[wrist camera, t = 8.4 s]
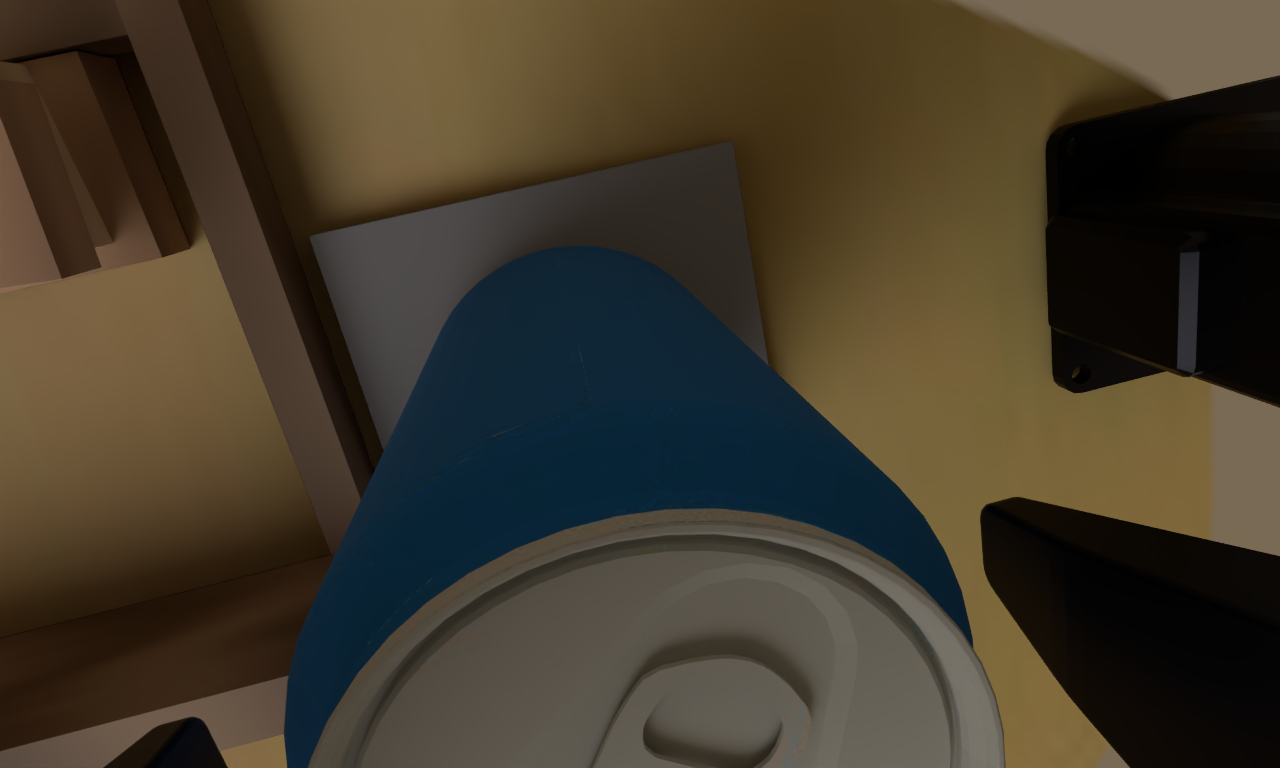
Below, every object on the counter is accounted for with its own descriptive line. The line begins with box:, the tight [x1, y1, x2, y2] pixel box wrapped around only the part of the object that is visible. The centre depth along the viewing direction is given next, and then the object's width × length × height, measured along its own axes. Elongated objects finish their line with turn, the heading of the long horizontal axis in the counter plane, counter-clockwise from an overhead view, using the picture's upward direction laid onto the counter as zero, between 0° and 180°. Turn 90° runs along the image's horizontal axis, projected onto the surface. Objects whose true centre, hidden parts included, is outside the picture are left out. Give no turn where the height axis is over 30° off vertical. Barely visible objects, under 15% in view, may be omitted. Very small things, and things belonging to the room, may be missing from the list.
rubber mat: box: [309, 141, 769, 451], centre depth 18 cm, size 9×9×1 cm
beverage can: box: [284, 246, 1005, 768], centre depth 12 cm, size 6×6×12 cm
